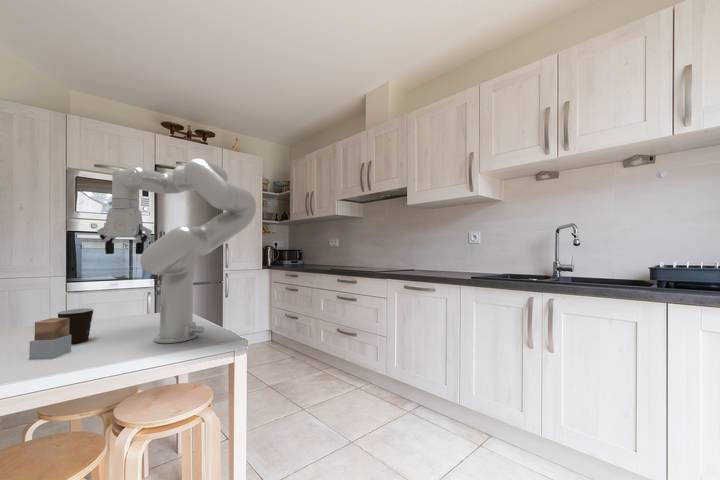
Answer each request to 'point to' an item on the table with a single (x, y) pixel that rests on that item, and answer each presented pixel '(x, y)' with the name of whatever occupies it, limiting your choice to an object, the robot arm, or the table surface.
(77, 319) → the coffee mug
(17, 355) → the table surface
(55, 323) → the walnut block
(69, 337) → the slate block
